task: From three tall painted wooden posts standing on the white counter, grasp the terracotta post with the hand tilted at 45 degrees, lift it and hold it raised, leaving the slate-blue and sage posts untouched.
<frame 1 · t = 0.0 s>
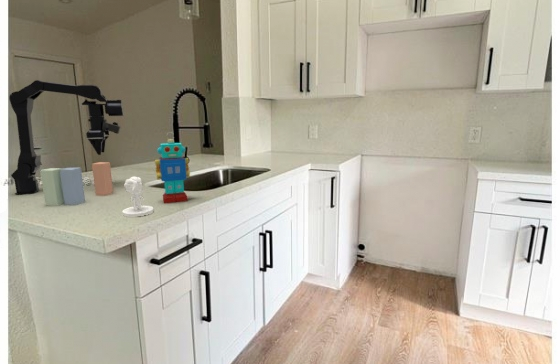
hand: (101, 153, 139), 15 cm above the countertop, tool pointing down, fingers open, 9 cm apart
toy robot: (175, 200, 120), on the countertop
figurine: (138, 213, 105), on the countertop
terracotta post: (104, 193, 130), on the countertop
slate post: (75, 202, 117), on the countertop
sage post: (56, 203, 116), on the countertop
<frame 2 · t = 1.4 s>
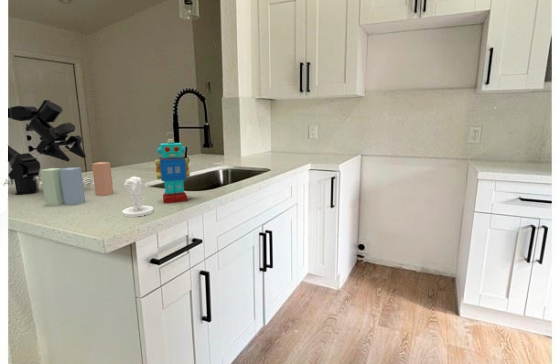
hand: (77, 159, 127), 14 cm above the countertop, tool tilted 45°, fingers open, 9 cm apart
nothing on the countertop moved.
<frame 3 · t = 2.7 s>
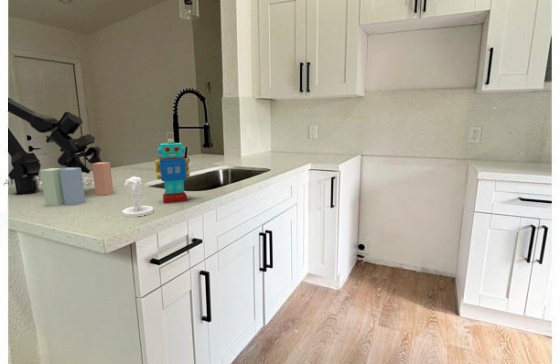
hand: (96, 170, 128), 9 cm above the countertop, tool tilted 45°, fingers open, 9 cm apart
nothing on the countertop moved.
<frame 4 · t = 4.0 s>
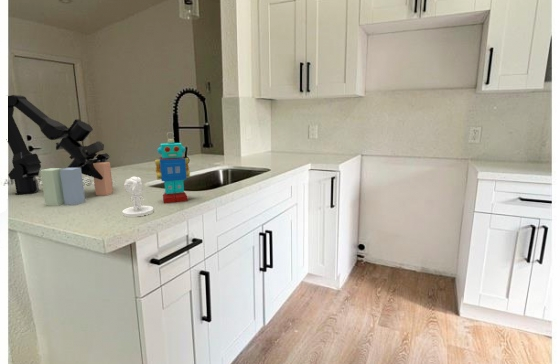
hand: (106, 177, 128), 7 cm above the countertop, tool tilted 45°, fingers closed on terracotta post, 4 cm apart
terracotta post: (104, 193, 130), on the countertop, touching gripper
everything else where it was.
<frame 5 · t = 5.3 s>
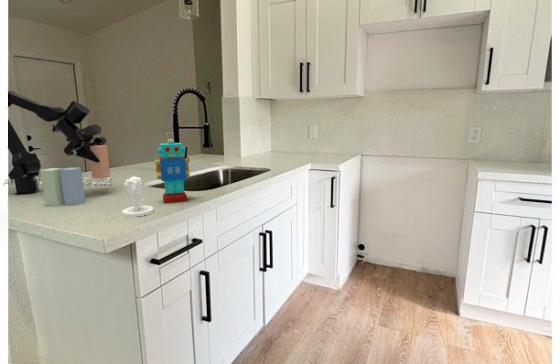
hand: (102, 161, 127), 13 cm above the countertop, tool tilted 45°, fingers closed on terracotta post, 4 cm apart
terracotta post: (101, 177, 128), point 7 cm above the countertop, touching gripper
everything else where it was.
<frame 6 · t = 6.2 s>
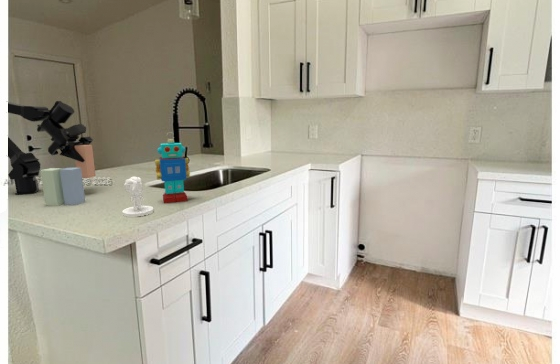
hand: (87, 160, 127), 13 cm above the countertop, tool tilted 45°, fingers closed on terracotta post, 4 cm apart
terracotta post: (86, 176, 129), point 7 cm above the countertop, touching gripper
everything else where it was.
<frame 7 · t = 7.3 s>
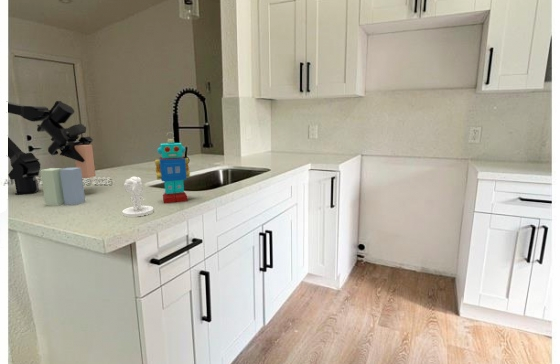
hand: (87, 160, 127), 13 cm above the countertop, tool tilted 45°, fingers closed on terracotta post, 4 cm apart
terracotta post: (86, 176, 129), point 7 cm above the countertop, touching gripper
everything else where it was.
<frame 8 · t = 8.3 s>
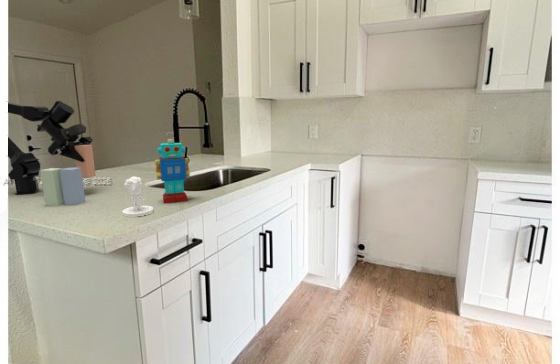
hand: (87, 160, 127), 13 cm above the countertop, tool tilted 45°, fingers closed on terracotta post, 4 cm apart
terracotta post: (86, 176, 129), point 7 cm above the countertop, touching gripper
everything else where it was.
at the end: the gripper is holding terracotta post; terracotta post point 6.8 cm above the countertop; slate post moved 0.0 cm from its start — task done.
